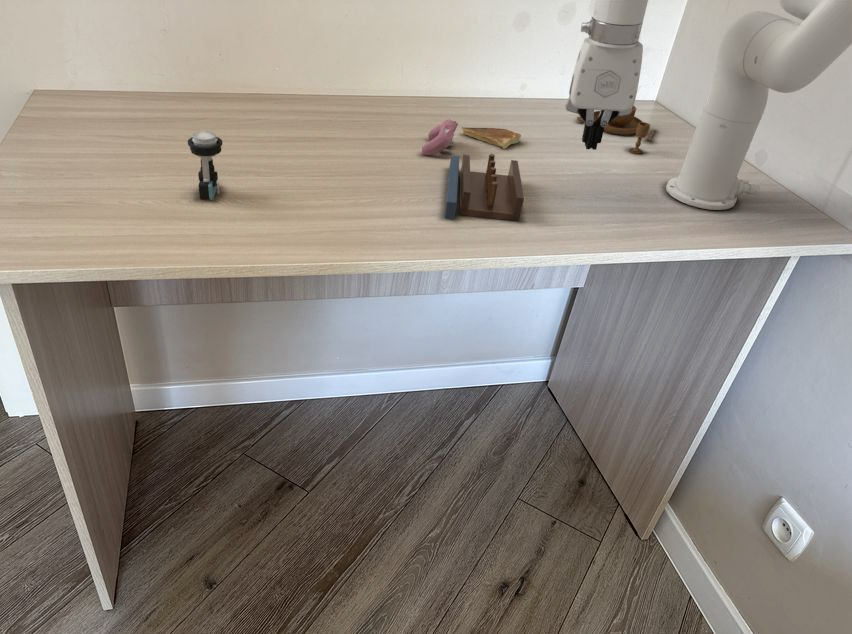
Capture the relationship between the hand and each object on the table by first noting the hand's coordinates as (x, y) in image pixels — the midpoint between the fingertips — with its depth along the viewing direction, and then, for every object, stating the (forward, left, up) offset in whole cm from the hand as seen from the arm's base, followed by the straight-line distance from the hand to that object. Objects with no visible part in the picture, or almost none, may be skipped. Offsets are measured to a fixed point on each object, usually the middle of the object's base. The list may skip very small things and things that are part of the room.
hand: (590, 146), depth 118 cm
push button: (+63, +15, -10) cm, 65 cm away
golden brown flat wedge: (+15, -24, -10) cm, 30 cm away
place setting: (-12, -38, -10) cm, 41 cm away
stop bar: (+23, +4, -10) cm, 25 cm away
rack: (+16, +4, -10) cm, 19 cm away
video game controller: (+26, -16, -10) cm, 32 cm away
